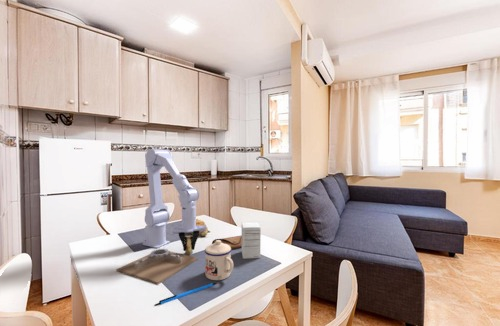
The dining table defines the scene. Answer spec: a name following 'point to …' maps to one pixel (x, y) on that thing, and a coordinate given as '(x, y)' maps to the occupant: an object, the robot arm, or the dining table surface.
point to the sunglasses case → (231, 242)
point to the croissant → (201, 223)
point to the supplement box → (251, 240)
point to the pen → (184, 294)
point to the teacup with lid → (218, 261)
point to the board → (157, 268)
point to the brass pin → (188, 245)
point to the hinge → (158, 257)
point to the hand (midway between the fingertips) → (188, 249)
